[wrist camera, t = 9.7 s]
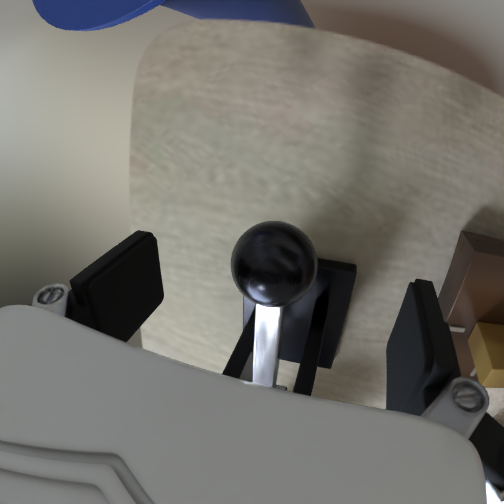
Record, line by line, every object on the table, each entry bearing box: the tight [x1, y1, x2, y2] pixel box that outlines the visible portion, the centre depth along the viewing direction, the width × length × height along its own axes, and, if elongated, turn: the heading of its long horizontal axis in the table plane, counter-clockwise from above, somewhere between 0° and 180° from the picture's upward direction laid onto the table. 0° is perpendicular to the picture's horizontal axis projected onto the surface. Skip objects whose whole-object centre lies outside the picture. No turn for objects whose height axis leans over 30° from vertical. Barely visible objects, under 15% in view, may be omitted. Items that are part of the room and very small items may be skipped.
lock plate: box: [438, 231, 504, 382], centre depth 18 cm, size 12×10×3 cm
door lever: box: [231, 221, 318, 391], centre depth 14 cm, size 13×3×3 cm, turn 179°
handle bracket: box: [222, 258, 357, 396], centre depth 20 cm, size 10×8×12 cm
